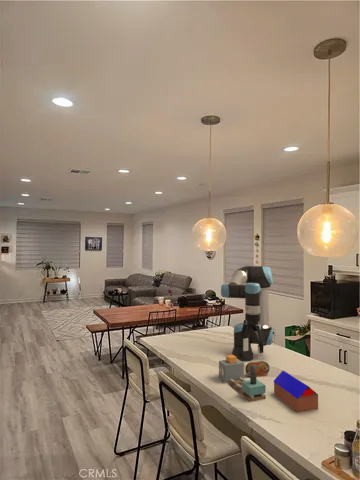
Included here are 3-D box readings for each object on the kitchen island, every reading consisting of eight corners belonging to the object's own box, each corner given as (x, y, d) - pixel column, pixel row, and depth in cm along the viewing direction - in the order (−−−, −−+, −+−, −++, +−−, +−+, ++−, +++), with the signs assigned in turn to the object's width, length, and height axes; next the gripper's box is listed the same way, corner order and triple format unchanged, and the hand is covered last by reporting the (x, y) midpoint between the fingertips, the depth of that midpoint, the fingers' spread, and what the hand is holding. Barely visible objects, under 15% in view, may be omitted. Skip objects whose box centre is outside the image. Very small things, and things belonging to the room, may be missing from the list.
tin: (247, 378, 184) (247, 363, 185) (244, 376, 188) (244, 361, 188) (269, 375, 189) (269, 361, 189) (267, 373, 192) (267, 359, 192)
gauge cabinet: (236, 375, 189) (236, 358, 189) (244, 380, 181) (243, 362, 182) (218, 378, 185) (218, 360, 185) (224, 383, 177) (224, 365, 177)
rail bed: (228, 383, 177) (228, 379, 177) (242, 381, 180) (242, 376, 180) (250, 401, 156) (250, 396, 156) (265, 398, 159) (265, 393, 159)
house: (292, 391, 168) (292, 369, 169) (319, 409, 149) (319, 384, 150) (273, 394, 165) (273, 371, 165) (297, 413, 146) (297, 387, 146)
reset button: (232, 359, 186) (232, 354, 186) (236, 362, 182) (236, 357, 182) (226, 360, 185) (226, 355, 185) (229, 363, 181) (229, 357, 181)
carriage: (241, 389, 164) (241, 364, 164) (256, 386, 167) (256, 361, 167) (250, 396, 156) (250, 369, 157) (265, 393, 159) (265, 367, 160)
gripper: (234, 309, 173) (234, 348, 173) (260, 318, 150) (260, 363, 149) (245, 308, 176) (246, 346, 175) (273, 317, 153) (273, 361, 152)
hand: (252, 354), depth 162 cm, fingers open, 13 cm apart
